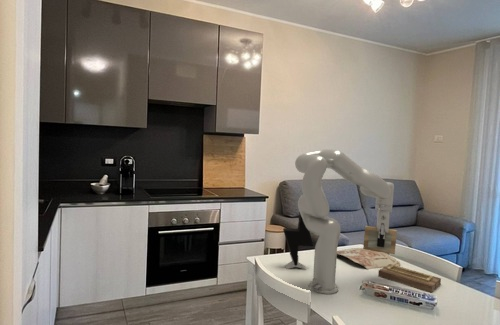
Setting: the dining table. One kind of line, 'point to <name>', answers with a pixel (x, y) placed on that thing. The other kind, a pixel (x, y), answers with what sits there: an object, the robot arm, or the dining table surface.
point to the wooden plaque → (372, 237)
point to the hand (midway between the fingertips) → (380, 245)
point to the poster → (369, 258)
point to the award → (297, 242)
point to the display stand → (410, 278)
